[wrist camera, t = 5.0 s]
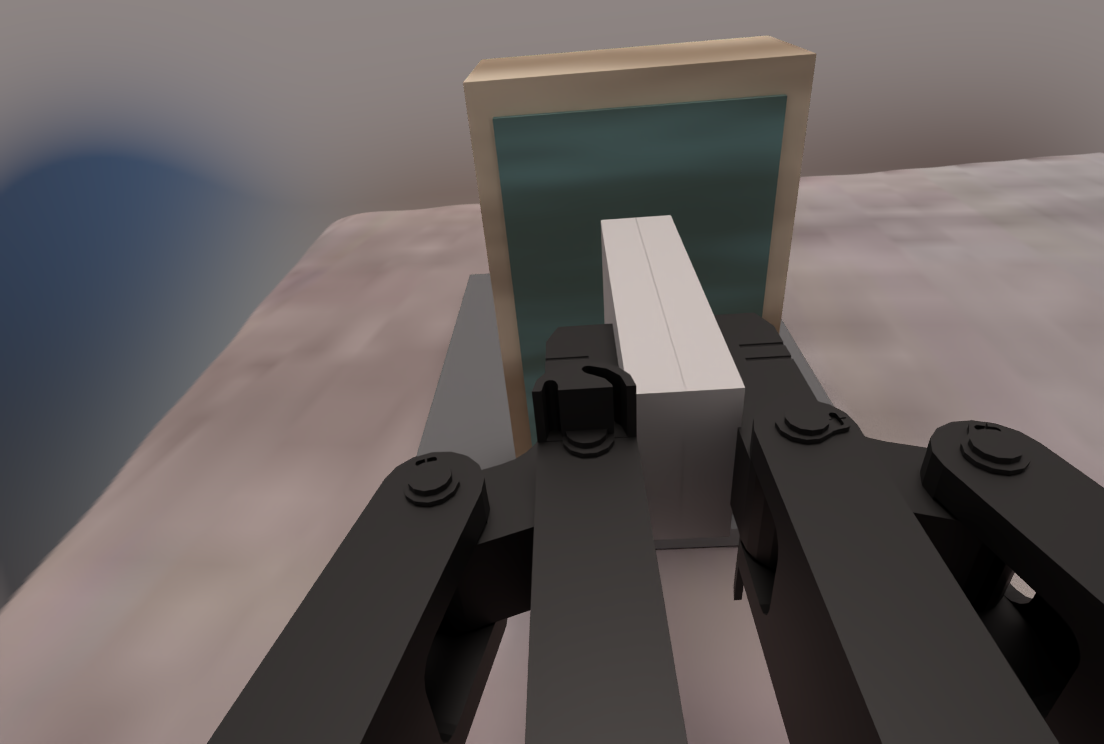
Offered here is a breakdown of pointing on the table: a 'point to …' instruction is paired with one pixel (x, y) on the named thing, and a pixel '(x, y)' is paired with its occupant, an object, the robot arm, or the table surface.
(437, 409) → the mat
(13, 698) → the table surface
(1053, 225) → the table surface
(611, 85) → the block
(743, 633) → the table surface
